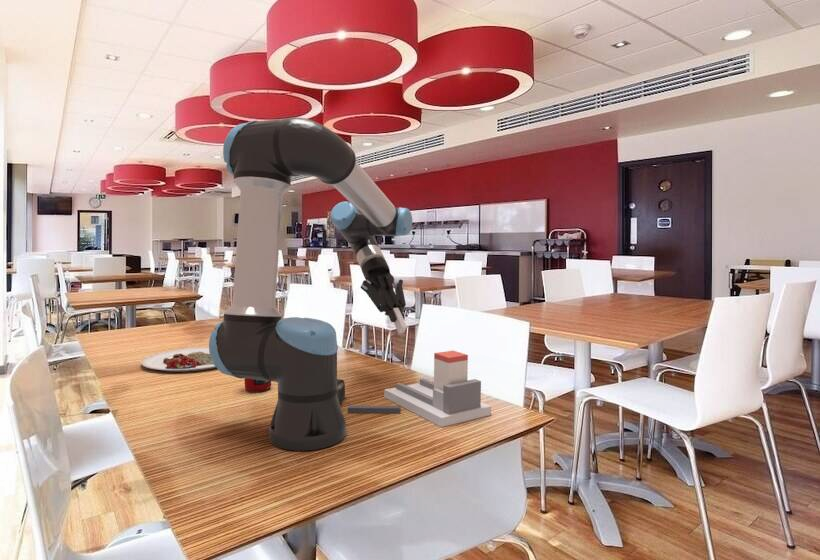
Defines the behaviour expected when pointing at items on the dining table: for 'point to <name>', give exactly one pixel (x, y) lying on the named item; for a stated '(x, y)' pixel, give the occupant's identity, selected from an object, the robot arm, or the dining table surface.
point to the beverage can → (256, 385)
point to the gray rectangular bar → (375, 409)
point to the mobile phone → (340, 389)
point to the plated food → (180, 360)
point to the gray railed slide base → (441, 401)
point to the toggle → (449, 368)
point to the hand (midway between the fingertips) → (402, 330)
